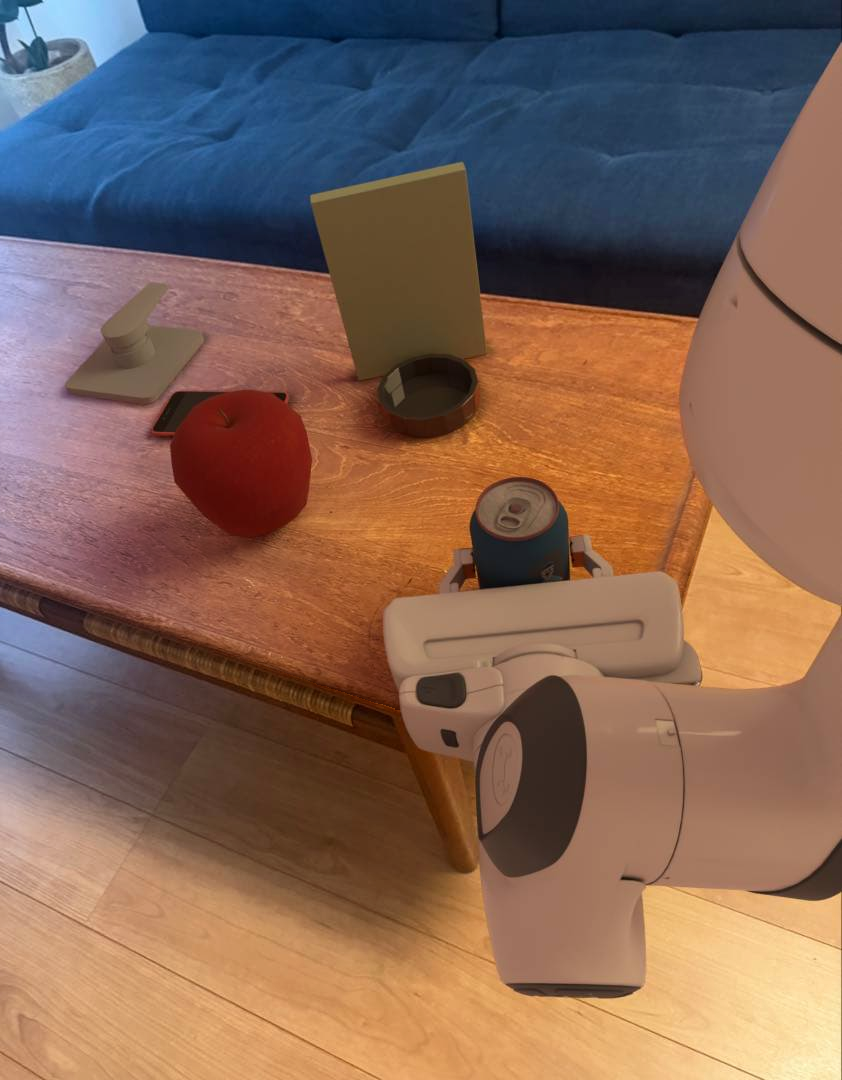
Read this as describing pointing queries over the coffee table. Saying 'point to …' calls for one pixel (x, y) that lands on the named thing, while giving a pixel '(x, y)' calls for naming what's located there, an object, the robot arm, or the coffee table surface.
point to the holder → (429, 395)
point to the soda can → (519, 534)
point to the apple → (243, 461)
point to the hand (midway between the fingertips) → (521, 546)
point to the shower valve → (135, 354)
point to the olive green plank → (403, 267)
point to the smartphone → (187, 409)
